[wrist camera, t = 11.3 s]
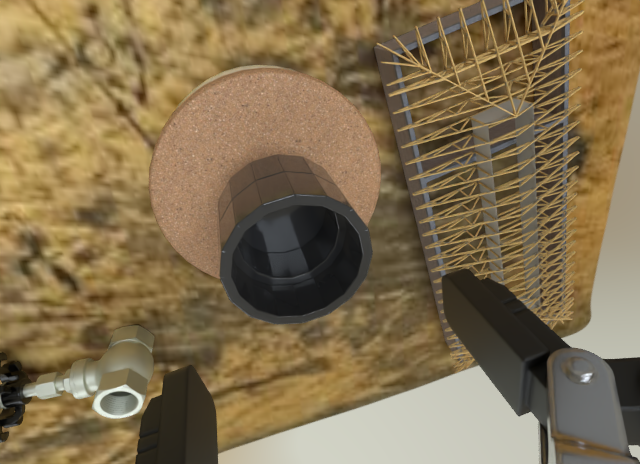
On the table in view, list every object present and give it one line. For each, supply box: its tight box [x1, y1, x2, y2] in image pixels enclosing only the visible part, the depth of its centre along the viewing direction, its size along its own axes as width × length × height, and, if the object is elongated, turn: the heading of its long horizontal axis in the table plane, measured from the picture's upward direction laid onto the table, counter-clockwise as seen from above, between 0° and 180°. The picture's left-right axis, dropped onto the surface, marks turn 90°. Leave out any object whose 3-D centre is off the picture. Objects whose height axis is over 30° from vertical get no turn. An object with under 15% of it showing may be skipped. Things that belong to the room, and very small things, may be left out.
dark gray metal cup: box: [217, 154, 373, 324], centre depth 18 cm, size 6×6×5 cm
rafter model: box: [374, 0, 584, 373], centre depth 34 cm, size 35×14×6 cm, turn 20°
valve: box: [0, 325, 155, 443], centre depth 32 cm, size 7×7×12 cm
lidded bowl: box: [149, 65, 381, 279], centre depth 25 cm, size 13×13×11 cm
